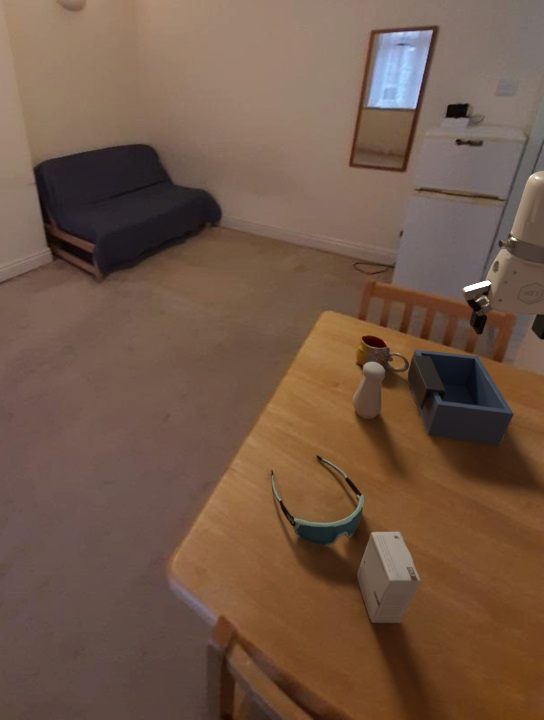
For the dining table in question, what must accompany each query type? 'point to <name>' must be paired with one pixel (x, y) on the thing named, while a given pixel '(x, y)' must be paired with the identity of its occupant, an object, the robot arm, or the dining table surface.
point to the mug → (377, 353)
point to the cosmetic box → (387, 577)
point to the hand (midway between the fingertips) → (506, 332)
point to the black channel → (424, 379)
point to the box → (464, 401)
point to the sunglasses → (325, 531)
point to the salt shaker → (369, 391)
